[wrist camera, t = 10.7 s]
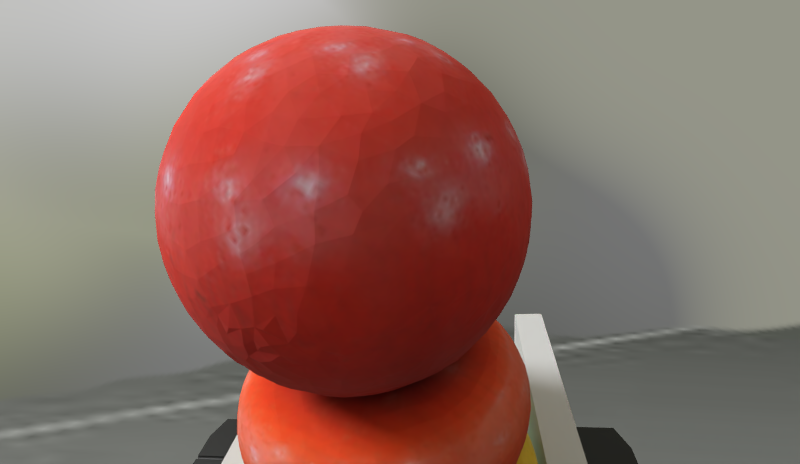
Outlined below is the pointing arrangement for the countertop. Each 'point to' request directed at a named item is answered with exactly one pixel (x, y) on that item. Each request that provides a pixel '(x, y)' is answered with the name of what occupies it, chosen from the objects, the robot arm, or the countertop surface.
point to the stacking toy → (354, 249)
